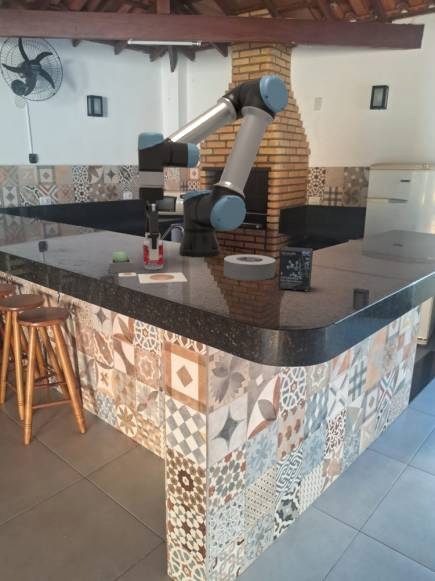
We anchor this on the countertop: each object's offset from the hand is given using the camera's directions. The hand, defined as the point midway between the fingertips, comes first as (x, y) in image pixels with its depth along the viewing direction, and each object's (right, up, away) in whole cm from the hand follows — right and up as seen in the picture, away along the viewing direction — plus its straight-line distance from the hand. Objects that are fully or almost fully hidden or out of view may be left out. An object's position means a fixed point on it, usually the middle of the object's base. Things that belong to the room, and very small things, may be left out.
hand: (152, 256), depth 139 cm
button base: (-9, -5, -3) cm, 11 cm away
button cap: (-9, -3, -3) cm, 10 cm away
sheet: (+5, -7, -13) cm, 15 cm away
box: (+41, -10, -22) cm, 48 cm away
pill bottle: (0, -4, +1) cm, 4 cm away
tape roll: (+30, -6, -7) cm, 31 cm away
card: (-6, -6, -9) cm, 13 cm away
